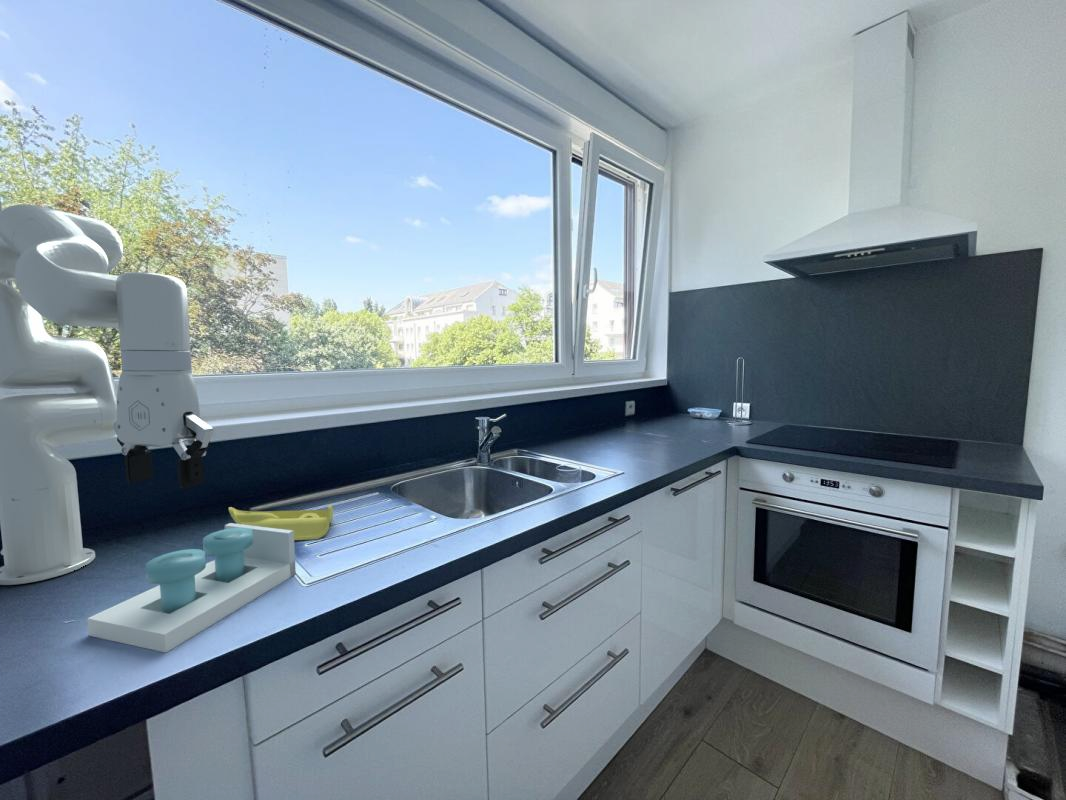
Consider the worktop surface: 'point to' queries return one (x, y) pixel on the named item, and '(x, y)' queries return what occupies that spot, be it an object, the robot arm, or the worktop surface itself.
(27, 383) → the robot arm
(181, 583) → the teal round plug
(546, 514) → the worktop surface
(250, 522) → the plastic component
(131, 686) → the worktop surface
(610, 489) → the worktop surface
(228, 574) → the teal flanged peg
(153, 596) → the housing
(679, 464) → the worktop surface
